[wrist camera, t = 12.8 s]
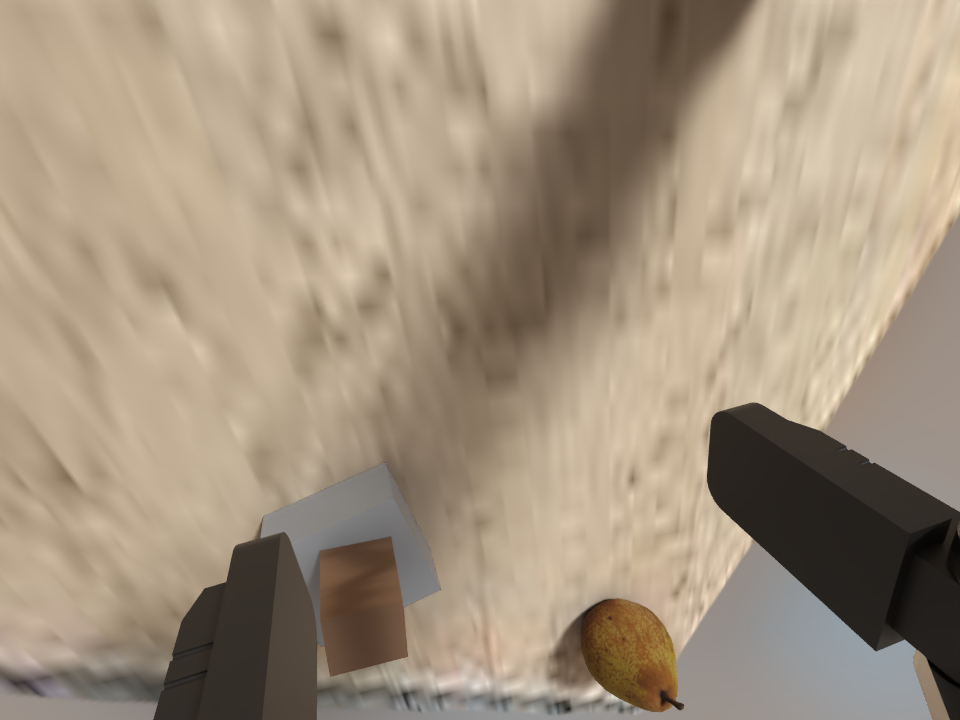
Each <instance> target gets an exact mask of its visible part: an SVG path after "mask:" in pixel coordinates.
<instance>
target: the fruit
mask: <svg viewBox="0 0 960 720" xmlns="http://www.w3.org/2000/svg"><path fill="white" fill-rule="evenodd" d="M581 645H582V652H583V656H584V659H585V663H586V665H587V667H588V669H589V671H590V673H591V674H592V676H593V677H594V678H595V680H596V681H597V682H598V683H599V684H600V685H601V686H602V687H603V688H604V689H605V690H606V691H608V692H610V693H611V694H613V695H614V696H616V697H618V698H619V699H621V700H623V701H625V702H628V703H630V704H632V705H634V706H637V707H639V708H641V709H644V710H647V711H652V712H663V711H665V710H667V709H669V708H671V707H672V705H674V706H675V707H676V708H677V709H678V710H682V709H683V707H684V704H682V703H678V702H676V701H675V700H676V697H677V689H678V680H677V671H676V657H675V651H674V647H673V643H672V640H671V638H670V636H669V634H668V632H667V630H666V628H665V626H664V625H663V624H662V622H661V621H660V620H659V619H658V617H657V616H656V615H655V614H654V613H653V612H652V611H651V610H649V609H648V608H646V607H644V606H642V605H640V604H637V603H634V602H631V601H628V600H623V599H618V598H617V599H610V600H607V601H604V602H602V603H601V604H599V605H597V606H596V607H595V608H593V609H592V610H591V611H590V612H589V613H588V614H587V615H586V616H585V619H584V621H583V623H582V627H581Z"/></svg>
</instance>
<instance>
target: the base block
mask: <svg viewBox="0 0 960 720" xmlns="http://www.w3.org/2000/svg"><path fill="white" fill-rule="evenodd" d="M281 532H285V533H286V534H287V535H288V537H289V539H290V542H291V544H292V547H293V550H294V553H295V555H296V558H297V561H298V564H299V566H300V569H301V572H302V575H303V577H304V580H305V583H306V586H307V589H308V591H309V594H310V597H311V600H312V604H313V608H314V613H315V620H316V628H317V642H318V643H319V644H320V646H321V647H322V646H324V639H323V634H322V628H321V623H320V551H321V550H326V549H331V548H336V547H341V546H346V545H351V544H356V543H361V542H366V541H371V540H376V539H381V538H386V537H391V538H392V544H393V550H394V555H395V561H396V566H397V572H398V577H399V583H400V588H401V594H402V600H403V607H405V606H407V605H409V604H412V603H414V602H416V601H418V600H420V599H422V598H424V597H426V596H428V595H430V594H432V593H434V592H437V591H439V590H441V588H440V584H439V580H438V576H437V573H436V569H435V565H434V562H433V558H432V554H431V550H430V548H429V546H428V544H427V542H426V540H425V538H424V536H423V534H422V532H421V530H420V528H419V526H418V524H417V522H416V520H415V518H414V516H413V514H412V512H411V511H410V509H409V507H408V505H407V503H406V501H405V499H404V497H403V495H402V493H401V491H400V489H399V487H398V485H397V483H396V481H395V479H394V477H393V475H392V473H391V472H390V470H389V468H388V466H387V464H386V462H385V463H382V464H380V465H378V466H376V467H373V468H371V469H369V470H367V471H364V472H362V473H360V474H358V475H355V476H353V477H351V478H349V479H346V480H344V481H342V482H340V483H337V484H335V485H333V486H331V487H328V488H326V489H324V490H322V491H319V492H317V493H315V494H313V495H310V496H308V497H306V498H304V499H301V500H299V501H297V502H295V503H292V504H290V505H288V506H286V507H283V508H281V509H279V510H277V511H274V512H272V513H270V514H268V515H265V516H263V523H262V529H261V536H260V538H263V537H267V536H270V535H274V534H278V533H281Z"/></svg>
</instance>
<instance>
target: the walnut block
mask: <svg viewBox="0 0 960 720" xmlns="http://www.w3.org/2000/svg"><path fill="white" fill-rule="evenodd" d="M320 623H321V628H322V634H323V639H324V645H325V650H326V655H327V661H328V666H329V672H330V677H331V676H335V675H338V674H342V673H346V672H350V671H354V670H358V669H362V668H366V667H369V666H373V665H377V664H381V663H385V662H389V661H393V660H397V659H400V658H404V657H408V651H407V641H406V630H405V619H404V609H403V600H402V594H401V588H400V583H399V577H398V572H397V566H396V561H395V555H394V550H393V544H392V538H391V537H386V538H381V539H376V540H371V541H366V542H361V543H356V544H351V545H346V546H341V547H336V548H331V549H326V550H321V551H320Z"/></svg>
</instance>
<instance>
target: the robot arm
mask: <svg viewBox="0 0 960 720" xmlns="http://www.w3.org/2000/svg"><path fill="white" fill-rule="evenodd" d="M707 483H708V487H709V490H710V493H711V495H712V497H713V499H714V501H715V502H716V504H717V505H718V506H719V507H720V509H721V510H722V511H724V512H725V513H726V514H727V515H728V516H729V517H730V518H731V519H732V520H733V521H734V522H736V523H737V524H738V525H739V526H740V527H741V528H742V529H743V530H744V531H745V532H746V533H748V534H749V535H750V536H751V537H752V538H753V539H754V540H755V541H756V542H757V543H759V544H760V545H761V546H762V547H763V548H764V549H765V550H766V551H767V552H768V553H769V554H770V555H771V556H773V557H774V558H775V559H776V560H777V561H778V562H779V563H780V564H781V565H782V566H783V567H785V568H786V569H787V570H788V571H789V572H790V573H791V574H792V575H793V576H794V577H795V578H796V579H798V580H799V581H800V582H801V583H802V584H803V585H804V586H805V587H806V588H807V589H808V590H810V591H811V592H812V593H813V594H814V595H815V596H816V597H817V598H818V599H819V600H820V601H822V602H823V603H824V604H825V605H826V606H827V607H828V608H829V609H831V611H832V612H834V613H835V614H836V615H837V616H838V617H839V618H840V619H841V620H842V621H843V622H844V623H845V624H847V625H848V626H849V627H850V628H851V629H852V630H853V631H854V632H855V633H856V634H858V635H859V636H860V637H861V638H862V639H863V640H864V641H865V642H866V643H867V644H868V645H869V646H871V647H872V648H873V649H874V650H875V651H878V650H880V649H883V648H885V647H888V646H890V645H893V644H895V643H897V642H900V641H902V640H904V639H905V640H906V641H908V642H909V643H910V644H911V645H912V646H913V647H915V648H916V651H915V654H914V657H913V663H914V668H915V672H916V674H917V677H918V680H919V683H920V686H921V688H922V691H923V694H924V697H925V700H926V702H927V705H928V708H929V711H930V713H931V716H932V719H933V720H960V512H959V511H957V510H955V509H954V508H951V507H950V506H948V505H947V504H945V503H943V502H941V501H940V500H938V499H936V498H935V497H933V496H931V495H929V494H928V493H926V492H924V491H922V490H921V489H919V488H917V487H916V486H914V485H912V484H910V483H909V482H907V481H905V480H904V479H902V478H900V477H898V476H897V475H895V474H893V473H892V472H890V471H888V470H886V469H885V468H883V467H881V466H879V465H878V464H876V463H873V464H871V463H870V462H869V459H867V458H866V457H864V456H862V455H860V454H859V453H857V452H855V451H854V450H847V448H846V446H845V445H843V444H841V443H840V442H838V441H836V440H835V439H833V438H831V437H829V436H828V435H826V434H824V433H823V432H821V431H819V430H816V429H813V428H810V427H807V426H804V425H801V424H798V423H795V422H792V421H789V420H787V419H785V418H783V417H782V416H780V415H778V414H777V413H775V412H773V411H771V410H770V409H768V408H766V407H765V406H763V405H761V404H759V403H748V404H745V405H741V406H738V407H734V408H730V409H727V410H723V411H720V412H717V413H716V414H715V415H714V416H713V418H712V420H711V428H710V442H709V456H708V469H707ZM172 655H173V661H170V664H169V667H168V671H167V674H166V678H165V681H164V686H165V689H164V691H162V692H161V695H160V699H159V702H158V706H157V709H156V712H155V716H154V719H153V720H317V628H316V620H315V613H314V608H313V604H312V600H311V597H310V594H309V591H308V589H307V586H306V583H305V580H304V577H303V575H302V572H301V569H300V566H299V564H298V561H297V558H296V555H295V553H294V550H293V547H292V544H291V542H290V539H289V537H288V535H287V534H286V533H285V532H281V533H278V534H274V535H270V536H267V537H263V538H260V539H256V540H252V541H249V542H245V543H242V544H238V545H236V546H235V548H234V550H233V554H232V558H231V563H230V568H229V572H228V577H227V582H226V583H222V584H219V585H215V586H212V587H208V588H205V589H204V590H203V591H202V593H201V594H200V596H199V597H198V599H197V600H196V601H195V603H194V604H193V606H192V607H191V609H190V610H189V611H188V613H187V614H186V616H185V617H184V619H183V620H182V622H181V626H180V629H179V633H178V636H177V640H176V643H175V647H174V650H173V654H172Z"/></svg>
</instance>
